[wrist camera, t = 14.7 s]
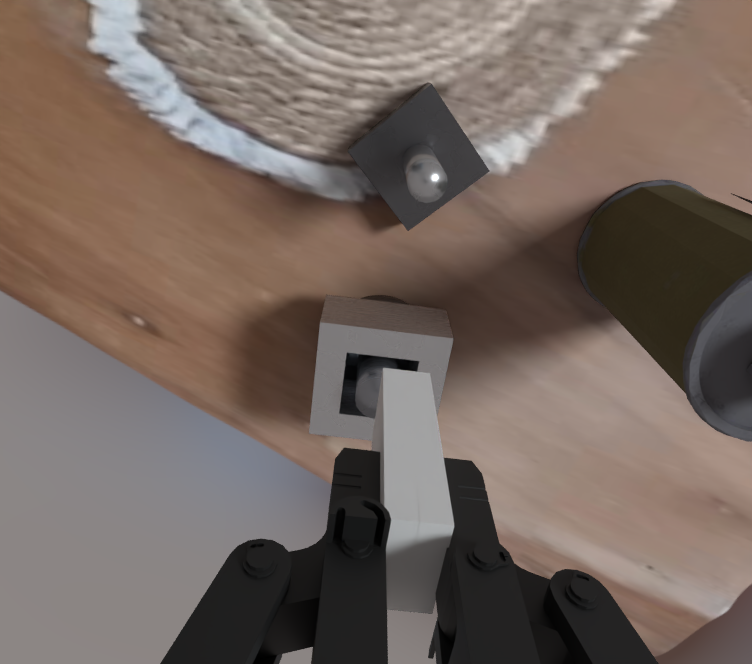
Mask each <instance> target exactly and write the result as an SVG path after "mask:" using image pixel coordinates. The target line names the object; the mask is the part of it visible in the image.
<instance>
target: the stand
mask: <svg viewBox="0 0 752 664" xmlns="http://www.w3.org/2000/svg"><path fill="white" fill-rule="evenodd" d="M348 152H349V154H350V155H351V156H352V158H353V159H354V160H355V162H356V163H357V164H358V166H359V167H360V168H361V170H362V171H363V172H364V174H365V175H366V176H367V177H368V179H369V180H370V181H371V183H372V184H373V185H374V187H375V188H376V189H377V191H378V192H379V193H380V195H381V196H382V197H383V199H384V200H385V201H386V203H387V204H388V205H389V207H390V208H391V209H392V211H393V212H394V213H395V215H396V216H397V217H398V218H399V220H400V221H401V222H402V224H403V225H404V226H405V228H406V229H407V230H408V231H409V230H410V229H411V228H413V227H414V226H416V225H417V224H418V223H420V222H421V221H422V220H424V219H425V218H426V217H428V216H429V215H431V214H432V213H433V212H435V211H436V210H437V209H439V208H440V207H441V206H443V205H444V204H446V203H447V202H448V201H450V200H451V199H452V198H454V197H455V196H456V195H458V194H459V193H461V192H462V191H463V190H465V189H466V188H467V187H469V186H470V185H471V184H473V183H474V182H476V181H477V180H478V179H480V178H481V177H482V176H484V175H485V174H486V173H488V172H489V170H488V168H487V166H486V165H485V163H484V162H483V160H482V159H481V157H480V156H479V154H478V153H477V151H476V150H475V148H474V147H473V145H472V144H471V142H470V141H469V139H468V138H467V136H466V135H465V133H464V132H463V130H462V129H461V127H460V126H459V124H458V123H457V121H456V120H455V118H454V117H453V115H452V114H451V112H450V111H449V109H448V108H447V106H446V105H445V103H444V102H443V100H442V99H441V97H440V96H439V94H438V93H437V91H436V90H435V88H434V87H433V85H432V84H431V83H427V84H426V85H425V86H424V87H422V88H421V89H420V90H419V91H418V92H416V93H415V94H414V95H413V96H411V97H410V98H409V99H408V100H406V101H405V102H404V103H403V104H401V105H400V106H399V107H398V108H397V109H395V110H394V111H393V112H392V113H390V114H389V115H388V116H387V117H385V118H384V119H383V120H382V121H380V122H379V123H378V124H377V125H376V126H374V127H373V128H372V129H371V130H369V131H368V132H367V133H366V134H364V135H363V136H362V137H361V138H359V139H358V140H357V141H356V142H355V143H353V144H352V145H351V146H350V147H349V150H348Z"/></svg>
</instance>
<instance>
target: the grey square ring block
mask: <svg viewBox="0 0 752 664" xmlns="http://www.w3.org/2000/svg"><path fill="white" fill-rule="evenodd" d="M453 339H454V338H453V334H452V331H451V327H450V323H449V319H448V315H447V312H446V309H439V308H431V307H423V306H415V305H407V304H399V303H391V302H383V301H375V300H367V299H359V298H351V297H343V296H335V295H327V294H326V299H325V303H324V307H323V312H322V316H321V320H320V328H319V338H318V348H317V358H316V368H315V378H314V388H313V398H312V408H311V418H310V428H309V434H318V435H327V436H335V437H344V438H353V439H362V440H371V441H372V435H373V429H374V422H375V419H373V418H369V417H367V416H365V415H364V414H362V413H361V412H360V411H359V409H358V408H357V406H356V402H355V395H356V381H357V380H349V379H343V378H344V370H345V362H346V354H347V352H348V353H356V354H364V355H373V356H381V357H389V358H398V359H406V360H410V362H409V368H408V371H415V372H423V373H430V376H431V382H432V389H433V395H434V401H435V407H436V414H437V415H438V410H439V405H440V401H441V396H442V391H443V386H444V382H445V377H446V372H447V368H448V363H449V358H450V353H451V349H452V344H453Z"/></svg>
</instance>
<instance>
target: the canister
mask: <svg viewBox="0 0 752 664" xmlns="http://www.w3.org/2000/svg"><path fill="white" fill-rule="evenodd" d="M731 194H732V193H731ZM733 195H734V194H733ZM735 196H737V195H735ZM737 197H739V198H741V199H743V200H745V201H748V202H750V203H752V201H750V200H748V199H745V198H742V197H740V196H737ZM577 259H578V269H579V276H580V278H581V281H582V283H583V285H584V287H585V289H586V290H587V292H588V293H589V294H590V295H591V297H593V298H594V299H595V300H596V301H597V302H598V303H600V304H601V305H602V306H604V307H606V308H607V309H608V310H609V311H610V312H611V313H612V314H613V315H614V316H615V318H616V319H617V320H618V321H619V322H620V323H621V324H622V325H623V326H624V327H625V328H626V329H627V331H628V332H629V333H630V334H631V335H632V336H633V337H634V338H635V339H636V340H637V341H638V342H639V343H640V345H641V346H642V347H643V348H644V349H645V350H646V351H647V352H648V353H649V354H650V355H651V356H652V358H653V359H654V360H655V361H656V362H657V363H658V364H659V365H660V366H661V367H662V368H663V369H664V371H665V372H666V373H667V374H668V375H669V376H670V377H671V378H672V379H673V380H674V381H675V382H676V383H677V385H678V386H679V387H680V388H681V389H682V390H683V391H684V392H685V393H686V395H687V399H688V400H689V402H690V404H691V405H692V407H693V409H694V410H695V412H696V413H697V414H698V415H699V417H700V418H701V419H702V420H703V421H705V422H706V423H707V424H709V425H710V426H711V427H712V428H714V429H715V430H717V431H719V432H721V433H723V434H725V435H728V436H732V437H735V438H738V439H741V440H744V441H752V215H750V214H748V213H745V212H743V211H740V210H738V209H735V208H733V207H730V206H728V205H725V204H723V203H720V202H718V201H715V200H713V199H710V198H708V197H706V196H704V195H702V194H701V193H700V192H698V191H697V190H696V189H694V188H692V187H691V186H688V185H686V184H683V183H680V182H676V181H671V180H657V181H649V182H641V183H638V184H636V185H633V186H631V187H628V188H625V189H624V190H622V191H620V192H619V193H617V194H615V195H614V196H613V197H612V198H610V199H609V200H608V201H607V202H606V203H604V204H603V205H602V206H601V207H600V208H599V209H598V210H597V211H596V212H595V213H594V214H593V216H592V218H591V220H590V221H589V223H588V225H587V227H586V229H585V231H584V233H583V235H582V237H581V240H580V243H579V248H578V253H577Z"/></svg>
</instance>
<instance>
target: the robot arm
mask: <svg viewBox="0 0 752 664" xmlns="http://www.w3.org/2000/svg"><path fill="white" fill-rule="evenodd" d="M435 601H436V603H437V612H438V618H437V621H436V625H435V629H434V633H433V637H432V641H431V645H430V649H429V656H428V658H433V657H434V653H435V652H436V663H437V664H658V662H657V661H656V659H655V658H654V656H653V655H652V654H651V652H650V651H649V649H648V648H647V646H646V645H645V643H644V642H643V641H642V639H641V638H640V636H639V635H638V633H637V632H636V630H635V629H634V628H633V626H632V625H631V623H630V622H629V620H628V619H627V617H626V616H625V615H624V613H623V612H622V610H621V609H620V607H619V606H618V604H617V603H616V602H615V600H614V599H613V597H612V596H611V594H610V593H609V591H608V590H607V589H606V588H605V587H604V586H603V585H602V584H601V583H600V582H599V581H598V580H596V579H595V578H593V577H592V576H590V575H589V574H586V573H584V572H581V571H578V570H571V569H564V570H561V571H558V572H556V573H555V574H554V575H553V577H552V578H551V580H550V579H547V578H544V577H541V576H539V575H536V574H533V573H531V572H528V571H526V570H524V569H522V568H520V567H519V566H517V565H516V564H514V562H513V560H512V558H511V556H510V554H509V552H508V551H507V550H506V549H505V548H504V547H503V546H502V545H501V544H499V540H498V536H497V532H496V528H495V524H494V520H493V516H492V512H491V508H490V504H489V502H488V496H487V492H486V491H485V484H484V480H483V476H482V473H481V472H480V471H479V469H478V468H477V467H476V466H475V464H474V463H473V462H472V461H469V460H460V459H451V458H444V457H443V451H442V445H441V439H440V432H439V426H438V420H437V414H436V407H435V401H434V395H433V389H432V382H431V376H430V373H423V372H415V371H407V370H398V369H390V368H383V372H382V378H381V384H380V391H379V397H378V403H377V410H376V416H375V422H374V429H373V435H372V451H369V450H360V449H351V448H344V449H343V450H342V451H341V452H340V454H339V455H338V456H337V457H336V458H335V464H334V472H333V480H332V489H331V496H330V504H329V513H328V522H327V530H326V533H325V534H324V536H323V537H322V539H320V540H319V541H318V542H317V543H316V544H314V545H312V546H310V547H308V548H305V549H301V550H297V551H291V552H288V551H287V550H286V549H285V547H284V546H283V545H281V544H279V543H277V542H275V541H273V540H266V539H256V540H250V541H247V542H245V543H243V544H241V545H239V546H237V547H236V549H235V550H234V551H233V552H232V553H231V554H230V555H229V557H228V558H227V560H226V561H225V563H224V565H223V566H222V568H221V569H220V571H219V572H218V574H217V575H216V577H215V579H214V580H213V582H212V584H211V585H210V587H209V588H208V590H207V592H206V593H205V595H204V596H203V597H202V599H201V601H200V602H199V604H198V606H197V607H196V608H195V610H194V612H193V613H192V615H191V616H190V618H189V619H188V621H187V623H186V624H185V626H184V627H183V629H182V630H181V632H180V634H179V635H178V637H177V638H176V640H175V642H174V643H173V645H172V646H171V648H170V649H169V651H168V653H167V654H166V656H165V657H164V659H163V660H162V662H161V663H160V664H279V662H280V660H281V657H282V654H283V653H288V652H292V651H296V650H300V649H305V648H309V647H313V652H312V661H311V664H388V656H387V655H388V652H387V651H388V650H387V648H388V647H387V609H388V610H398V611H409V612H418V613H428V614H432V613H433V608H434V604H435Z"/></svg>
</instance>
